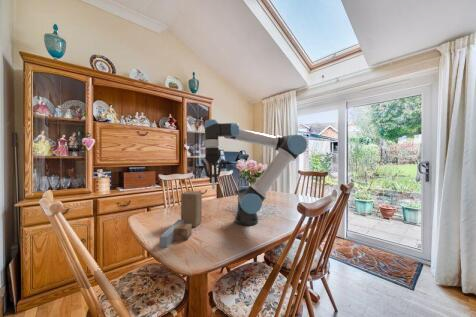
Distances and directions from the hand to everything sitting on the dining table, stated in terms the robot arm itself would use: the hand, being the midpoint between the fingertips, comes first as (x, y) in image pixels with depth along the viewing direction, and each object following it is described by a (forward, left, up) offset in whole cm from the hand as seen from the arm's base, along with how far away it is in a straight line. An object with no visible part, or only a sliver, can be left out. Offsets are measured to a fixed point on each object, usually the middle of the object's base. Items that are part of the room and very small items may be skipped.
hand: (213, 188), depth 115 cm
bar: (+20, +10, -24) cm, 33 cm away
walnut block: (+14, +10, -24) cm, 30 cm away
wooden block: (+16, -9, -24) cm, 30 cm away
